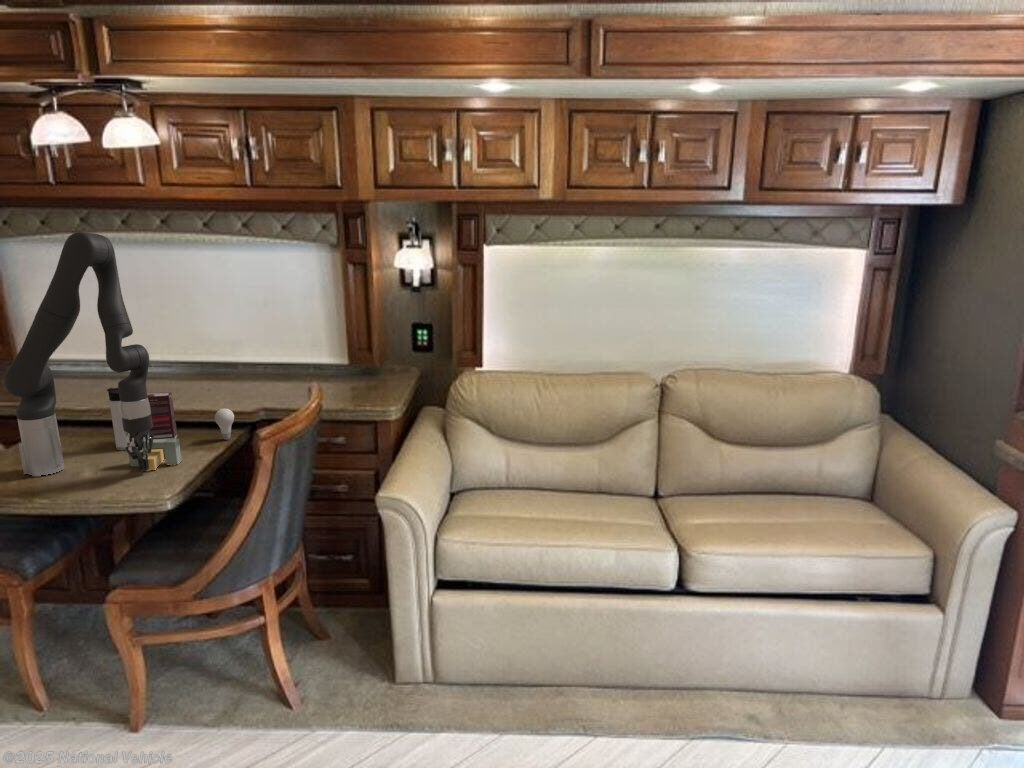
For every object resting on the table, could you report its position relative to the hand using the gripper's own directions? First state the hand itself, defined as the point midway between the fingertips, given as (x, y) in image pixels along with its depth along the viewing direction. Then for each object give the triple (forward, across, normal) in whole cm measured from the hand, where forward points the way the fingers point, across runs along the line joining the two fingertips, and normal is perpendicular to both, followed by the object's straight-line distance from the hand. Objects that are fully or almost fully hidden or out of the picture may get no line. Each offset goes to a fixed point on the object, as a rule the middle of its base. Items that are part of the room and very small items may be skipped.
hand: (144, 470), depth 200 cm
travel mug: (+1, -24, -16) cm, 29 cm away
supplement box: (+1, -32, -8) cm, 33 cm away
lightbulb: (+1, -30, +14) cm, 33 cm away
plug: (+1, -9, -1) cm, 9 cm away
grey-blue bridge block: (+1, -8, 0) cm, 8 cm away
